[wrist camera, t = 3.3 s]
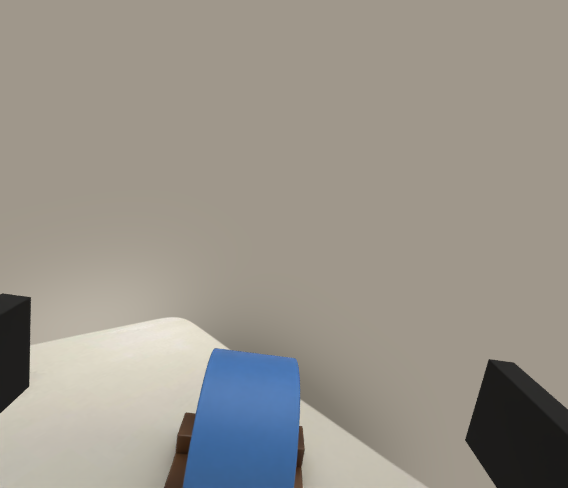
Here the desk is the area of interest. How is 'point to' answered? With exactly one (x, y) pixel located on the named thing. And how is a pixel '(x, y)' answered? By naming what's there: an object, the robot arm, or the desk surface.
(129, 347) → the desk surface
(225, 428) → the tape roll
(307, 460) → the desk surface
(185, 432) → the tape holder
